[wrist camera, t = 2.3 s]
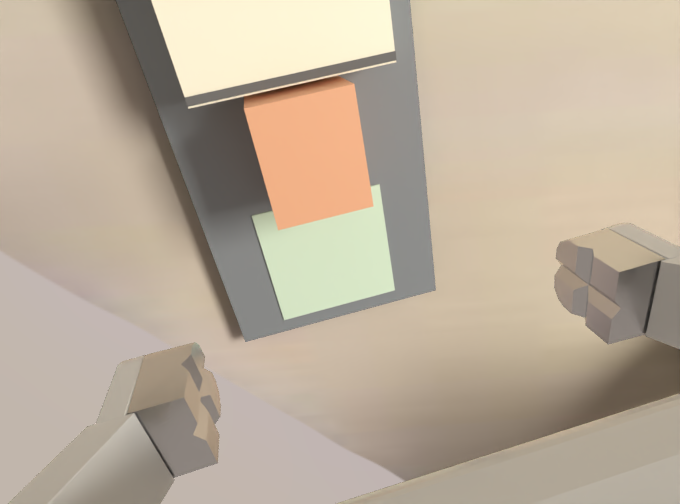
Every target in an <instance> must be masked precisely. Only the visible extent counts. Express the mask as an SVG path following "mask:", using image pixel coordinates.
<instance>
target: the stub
mask: <svg viewBox="0 0 680 504" xmlns="http://www.w3.org/2000/svg"><path fill="white" fill-rule="evenodd" d="M244 111H245V115H246V118H247V122H248V125H249V129H250V132H251V136H252V139H253V143H254V146H255V150H256V154H257V157H258V161H259V164H260V168H261V171H262V175H263V178H264V182H265V185H266V189H267V192H268V196H269V199H270V203H271V206H272V210H273V213H274V217H275V220H276V224H277V228H278V230H282V229H286V228H290V227H294V226H298V225H302V224H306V223H309V222H313V221H317V220H321V219H325V218H329V217H333V216H337V215H341V214H345V213H349V212H353V211H357V210H361V209H365V208H369V207H373V199H372V193H371V187H370V180H369V174H368V167H367V161H366V155H365V148H364V142H363V136H362V129H361V123H360V116H359V110H358V104H357V97H356V91H355V85H354V83H352V82H350V81H348V80H346V79H344V78H342V77H340V76H338V75H337V76H333V77H328V78H324V79H319V80H315V81H310V82H306V83H301V84H297V85H292V86H288V87H283V88H279V89H274V90H270V91H266V92H261V93H257V94H252V95H248V96H244Z"/></svg>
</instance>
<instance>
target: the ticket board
mask: <svg viewBox="0 0 680 504" xmlns="http://www.w3.org/2000/svg"><path fill="white" fill-rule="evenodd" d="M116 2H117V5H118V7H119V10H120V13H121V15H122V18H123V21H124V23H125V26H126V29H127V31H128V34H129V36H130V39H131V42H132V44H133V47H134V50H135V52H136V55H137V57H138V60H139V63H140V65H141V68H142V71H143V73H144V76H145V79H146V81H147V84H148V86H149V89H150V92H151V94H152V97H153V100H154V102H155V105H156V108H157V110H158V113H159V115H160V118H161V121H162V123H163V126H164V129H165V131H166V134H167V136H168V139H169V142H170V144H171V147H172V150H173V152H174V155H175V158H176V160H177V163H178V165H179V168H180V171H181V173H182V176H183V179H184V181H185V184H186V187H187V189H188V192H189V194H190V197H191V200H192V202H193V205H194V208H195V210H196V213H197V215H198V218H199V221H200V223H201V226H202V229H203V231H204V234H205V237H206V239H207V242H208V244H209V247H210V250H211V252H212V255H213V258H214V260H215V263H216V266H217V268H218V271H219V273H220V276H221V279H222V281H223V284H224V287H225V289H226V292H227V294H228V297H229V300H230V302H231V305H232V308H233V310H234V313H235V316H236V318H237V321H238V323H239V326H240V329H241V331H242V334H243V337H244V339H245V342H247V341H251V340H255V339H258V338H262V337H266V336H269V335H273V334H277V333H280V332H284V331H288V330H291V329H295V328H299V327H302V326H306V325H310V324H313V323H317V322H321V321H324V320H328V319H332V318H335V317H339V316H343V315H346V314H350V313H354V312H357V311H361V310H365V309H368V308H372V307H376V306H379V305H383V304H387V303H390V302H394V301H398V300H401V299H405V298H409V297H412V296H416V295H420V294H423V293H427V292H431V291H435V290H436V287H435V276H434V265H433V254H432V242H431V231H430V220H429V209H428V198H427V186H426V175H425V164H424V153H423V141H422V130H421V119H420V108H419V97H418V85H417V74H416V63H415V52H414V41H413V29H412V18H411V7H410V0H116ZM337 75H338V76H340V77H342V78H344V79H346V80H348V81H350V82H352V83H354V85H355V91H356V97H357V104H358V110H359V116H360V123H361V129H362V136H363V142H364V148H365V155H366V161H367V167H368V174H369V180H370V187H371V193H372V199H373V207H369V208H365V209H361V210H357V211H353V212H349V213H345V214H341V215H337V216H333V217H329V218H325V219H321V220H317V221H313V222H309V223H306V224H302V225H298V226H294V227H290V228H286V229H282V230H278V228H277V224H276V220H275V217H274V213H273V210H272V206H271V203H270V199H269V196H268V192H267V189H266V185H265V182H264V178H263V175H262V171H261V168H260V164H259V161H258V157H257V154H256V150H255V146H254V143H253V139H252V136H251V132H250V129H249V125H248V122H247V118H246V115H245V111H244V96H248V95H252V94H257V93H261V92H266V91H270V90H274V89H279V88H283V87H288V86H292V85H297V84H301V83H306V82H310V81H315V80H319V79H324V78H328V77H333V76H337Z"/></svg>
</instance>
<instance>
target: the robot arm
mask: <svg viewBox="0 0 680 504" xmlns="http://www.w3.org/2000/svg"><path fill="white" fill-rule="evenodd" d="M556 259H557V260H558V262H559V263H560V264H561V267H560V268H559V270H558V271H557V273H556V274H555V285H554V288H555V291H556V294H557V297H558V299H559V301H560V302H561V303H562V305H563V306H564V307H565V308H566V309H567V310H568V311H569V312H570V313H572V314H575V315H578V316H581V317H585V325H586V326H587V327H588V328H589V329H590V330H592V331H593V332H594V333H595V334H596V335H597V336H599V337H600V338H601V339H602V340H603V341H605V342H606V343H607V344H612V343H615V342H619V341H622V340H626V339H630V338H633V337H637V336H641V335H644V334H646V337H649V338H652V339H654V340H657V341H659V342H662V343H664V344H667V345H669V346H672V347H674V348H677V349H679V350H680V247H678V246H676V245H674V244H672V243H670V242H668V241H666V240H664V239H662V238H660V237H658V236H656V235H654V234H652V233H649V232H647V231H645V230H643V229H641V228H639V227H637V226H635V225H633V224H631V223H620V224H617V225H614V226H611V227H607V228H604V229H602V230H599V231H596V232H593V233H589V234H586V235H582V236H579V237H575V238H572V239H568V240H565V241H561V242H560V243H559V245H558V247H557V252H556ZM204 361H205V356H204V354H203V352H202V350H201V348H200V346H199V345H198V344H197V343H195V342H194V343H190V344H187V345H183V346H179V347H175V348H171V349H167V350H163V351H159V352H155V353H151V354H148V355H143V356H140V357H137V358H133V359H129V360H126V361H123V362H121V363H120V364H119V365H118V366H117V368H116V371H115V374H114V376H113V379H112V382H111V385H110V387H109V390H108V393H107V395H106V398H105V400H104V403H103V406H102V409H101V411H100V414H99V417H98V419H97V422H96V424H93V425H90V426H87V427H86V428H85V429H84V430H83V431H82V432H81V433H80V434H79V435H78V436H77V437H76V438H75V439H74V440H73V441H72V442H71V443H70V444H69V445H68V446H67V447H66V448H65V449H64V450H63V451H61V452H60V453H59V454H58V455H57V456H56V457H55V458H54V459H53V460H52V461H51V462H50V463H49V464H48V465H47V466H46V467H45V468H44V469H43V470H42V471H41V472H40V473H39V474H38V475H37V476H36V477H35V478H34V479H33V480H32V481H31V482H30V483H29V484H28V485H27V486H25V487H24V488H23V489H22V491H20V492H19V493H18V494H17V495H16V496H15V497H14V498H13V499H12V500H11V501H10V502H9V503H8V504H160V503H161V502H162V500H163V498H164V497H165V495H166V494H167V492H168V490H169V489H170V487H171V485H172V484H173V482H174V477H178V476H181V475H184V474H187V473H189V472H192V471H195V470H198V469H201V468H204V467H208V466H211V465H214V464H217V463H218V449H219V433H218V431H217V428H216V426H215V423H216V422H217V421H218V419H219V417H220V411H221V409H220V408H221V404H220V397H219V391H218V387H217V384H216V381H215V378H214V376H213V374H212V372H210V371H208V370H206V369H204ZM337 504H680V393H679V394H676V395H673V396H670V397H667V398H663V399H660V400H657V401H654V402H651V403H648V404H645V405H642V406H638V407H635V408H632V409H629V410H626V411H623V412H620V413H617V414H614V415H610V416H607V417H604V418H601V419H598V420H595V421H592V422H589V423H585V424H582V425H579V426H576V427H573V428H570V429H567V430H564V431H561V432H557V433H554V434H551V435H548V436H545V437H542V438H539V439H536V440H533V441H529V442H526V443H523V444H520V445H517V446H514V447H511V448H508V449H504V450H501V451H498V452H495V453H492V454H489V455H486V456H483V457H480V458H476V459H473V460H470V461H467V462H464V463H461V464H458V465H455V466H452V467H448V468H445V469H442V470H439V471H436V472H433V473H430V474H427V475H423V476H420V477H417V478H414V479H411V480H408V481H405V482H402V483H399V484H395V485H393V486H389V487H386V488H383V489H380V490H377V491H374V492H371V493H367V494H364V495H361V496H358V497H355V498H352V499H349V500H346V501H343V502H340V503H337Z"/></svg>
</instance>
